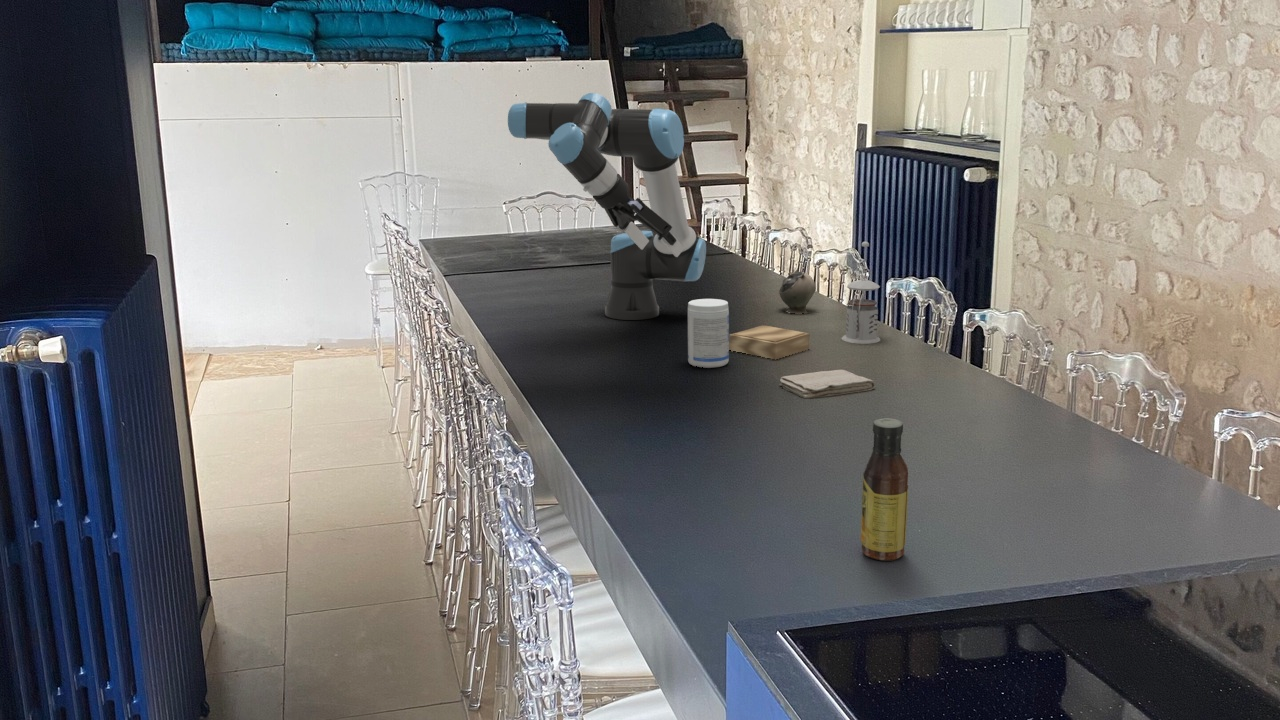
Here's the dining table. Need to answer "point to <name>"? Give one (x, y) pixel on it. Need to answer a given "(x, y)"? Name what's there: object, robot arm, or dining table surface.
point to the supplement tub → (708, 333)
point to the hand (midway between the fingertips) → (662, 248)
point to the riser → (769, 342)
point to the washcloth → (825, 383)
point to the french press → (861, 313)
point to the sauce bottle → (885, 494)
